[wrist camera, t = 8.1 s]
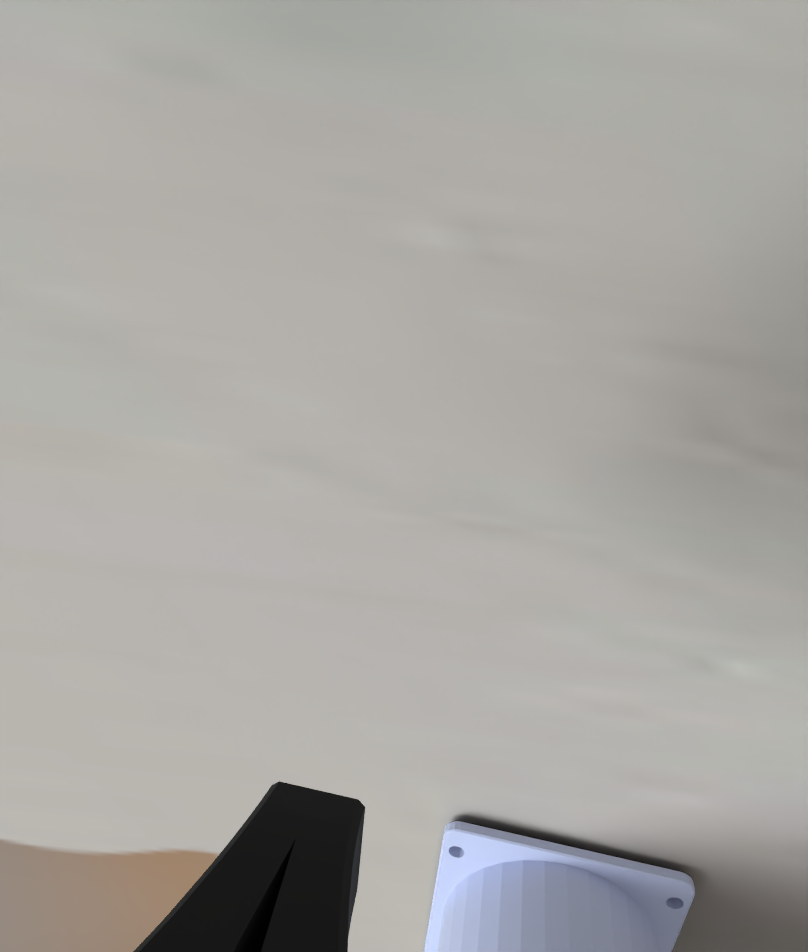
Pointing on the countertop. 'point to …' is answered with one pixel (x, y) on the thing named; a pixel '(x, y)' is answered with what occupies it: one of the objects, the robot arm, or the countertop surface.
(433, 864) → the countertop surface
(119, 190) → the countertop surface
